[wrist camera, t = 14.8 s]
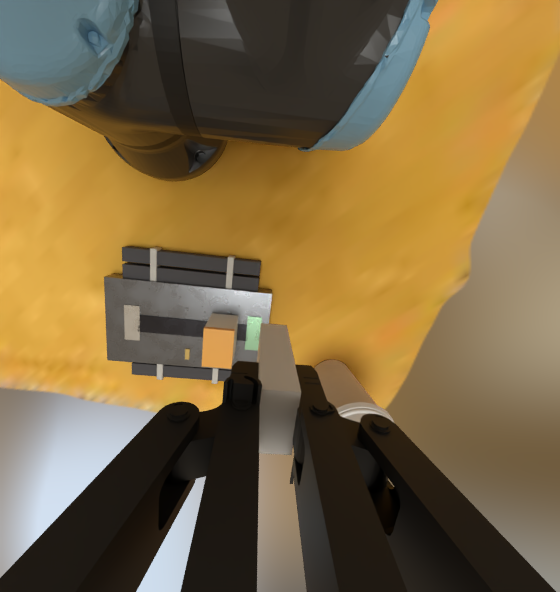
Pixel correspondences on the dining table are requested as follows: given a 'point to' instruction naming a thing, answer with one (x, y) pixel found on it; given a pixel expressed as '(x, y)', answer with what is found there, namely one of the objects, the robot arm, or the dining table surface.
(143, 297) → the panel
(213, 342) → the lever
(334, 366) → the coffee cup
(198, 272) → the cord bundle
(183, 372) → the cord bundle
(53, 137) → the dining table surface
